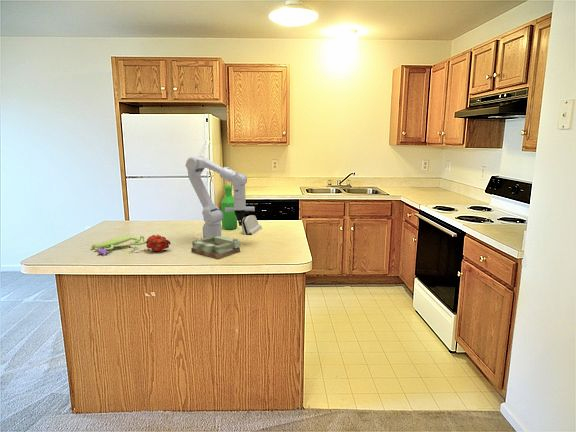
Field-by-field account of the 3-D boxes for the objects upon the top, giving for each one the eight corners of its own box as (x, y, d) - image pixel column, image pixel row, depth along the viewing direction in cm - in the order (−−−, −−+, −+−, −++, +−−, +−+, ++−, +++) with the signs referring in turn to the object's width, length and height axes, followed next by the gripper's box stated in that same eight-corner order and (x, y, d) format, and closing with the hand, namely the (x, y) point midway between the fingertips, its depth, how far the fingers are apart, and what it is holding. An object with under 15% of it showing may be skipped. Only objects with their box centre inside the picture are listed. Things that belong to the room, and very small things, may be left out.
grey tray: (191, 251, 183) (190, 241, 181) (213, 244, 194) (213, 235, 192) (218, 259, 172) (217, 248, 171) (240, 251, 183) (239, 241, 182)
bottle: (240, 227, 228) (239, 185, 223) (230, 230, 221) (229, 187, 215) (228, 225, 233) (227, 184, 227) (218, 228, 225) (217, 186, 220)
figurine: (151, 252, 184) (150, 240, 182) (88, 258, 175) (87, 246, 173) (150, 241, 201) (149, 231, 199) (93, 247, 191) (91, 236, 190)
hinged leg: (239, 246, 182) (239, 239, 182) (235, 248, 180) (235, 241, 179) (219, 241, 191) (218, 235, 190) (214, 243, 188) (214, 236, 188)
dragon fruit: (145, 253, 186) (170, 257, 186) (140, 247, 178) (165, 251, 178) (150, 236, 189) (174, 240, 189) (145, 230, 181) (170, 234, 181)
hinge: (252, 235, 211) (246, 218, 210) (244, 237, 213) (238, 220, 212) (262, 228, 227) (256, 212, 226) (255, 230, 229) (249, 214, 228)
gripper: (253, 196, 196) (254, 223, 199) (224, 197, 194) (225, 224, 197) (254, 199, 189) (255, 226, 192) (224, 200, 187) (225, 227, 190)
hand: (240, 225), depth 194 cm, fingers closed
